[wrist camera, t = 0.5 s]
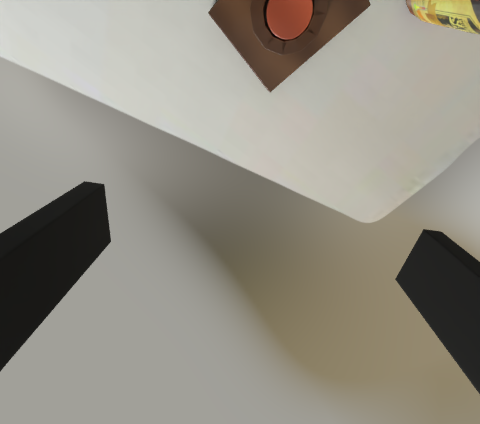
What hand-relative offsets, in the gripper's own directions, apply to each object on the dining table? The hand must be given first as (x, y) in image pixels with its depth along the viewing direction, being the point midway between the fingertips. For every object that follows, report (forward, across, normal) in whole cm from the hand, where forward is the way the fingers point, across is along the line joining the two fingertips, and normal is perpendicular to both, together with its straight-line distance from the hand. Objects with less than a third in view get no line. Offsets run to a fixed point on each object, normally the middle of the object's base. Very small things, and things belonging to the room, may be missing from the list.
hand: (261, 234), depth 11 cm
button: (+21, +1, +12) cm, 24 cm away
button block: (+24, +1, +13) cm, 27 cm away
